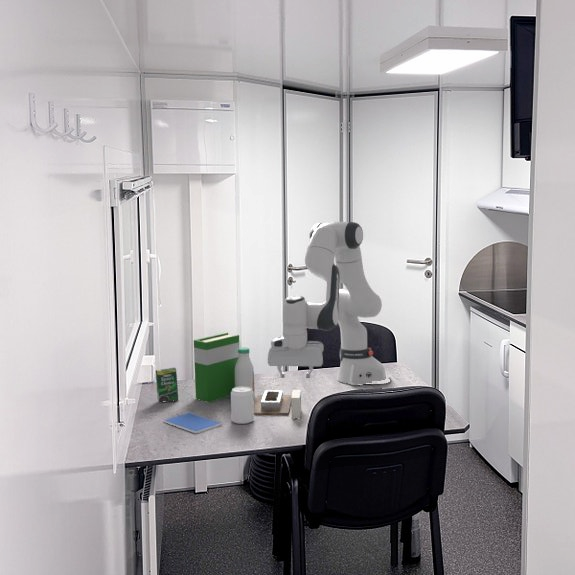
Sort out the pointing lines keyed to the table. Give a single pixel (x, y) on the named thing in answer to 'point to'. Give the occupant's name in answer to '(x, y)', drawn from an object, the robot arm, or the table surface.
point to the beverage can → (242, 405)
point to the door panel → (296, 404)
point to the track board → (283, 410)
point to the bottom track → (271, 404)
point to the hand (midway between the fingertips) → (295, 377)
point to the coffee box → (167, 384)
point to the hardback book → (215, 366)
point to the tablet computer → (192, 423)
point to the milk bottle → (244, 369)
